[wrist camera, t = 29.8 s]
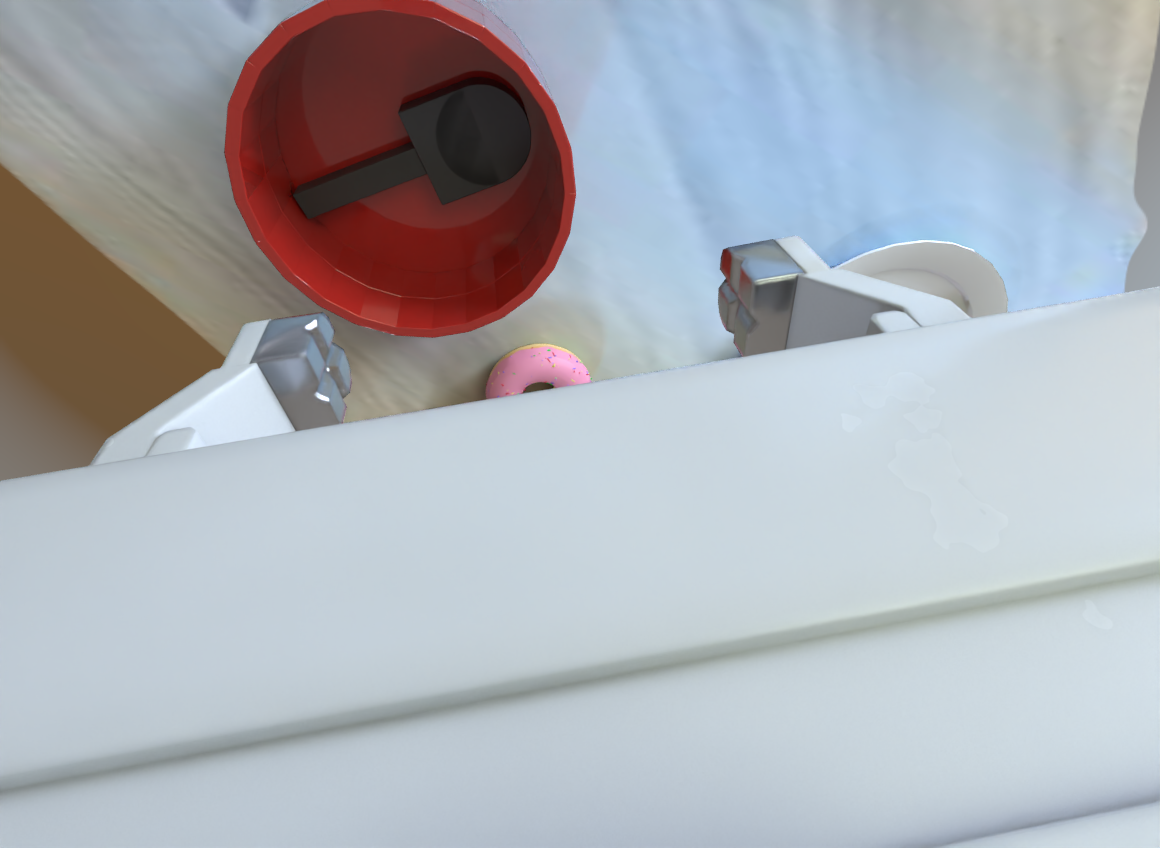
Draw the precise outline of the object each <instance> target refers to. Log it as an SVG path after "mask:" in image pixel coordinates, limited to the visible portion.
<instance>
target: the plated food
mask: <svg viewBox="0 0 1160 848" xmlns="http://www.w3.org/2000/svg"><path fill="white" fill-rule="evenodd" d="M837 268H840V269H843V270H847V271H850V272H854V273H857V274H861V275H864V276H868V277H871V278H875V279H878V280H882V281H885V282H889V283H892V284H895V285H899V286H902V287H906V288H909V289H913V290H916V291H920V292H923V293H927V294H930V295H934V296H937V297H941V298H944V299H948V300H950V301H952V302H953V303H954V304H955V305H956V306H958V307H959V308H960V309H961V310H962V311H963V312H965V313H966V314H967V315H968V316H969V317H971V318H977V317H983V316H989V315H995V314H1001V313H1007V306H1008V298H1007V294H1006V290H1005V286H1004V282H1003V280H1002V278H1001V277H1000V275H999V274H998V272H997V271H996V269H995V268H994V266H993V265H992V263H990V262H989V261H988V260H986V259H985V258H983V257H982V256H981V255H979V254H978V253H977V252H975V251H974V250H972V249H969V248H966V247H963V246H960V245H958V244H955V243H952V242H943V241H930V240H920V241H912V242H904V243H896V244H892V245H889V246H885V247H882V248H879V249H876V250H872V251H869V252H866V253H863V254H861V255H859V256H857V257H854V258H852V259H850V260H848V261H846V262H844V263H842V264H840V265H838V266H836V267H834V268H832V269H837Z"/></svg>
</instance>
